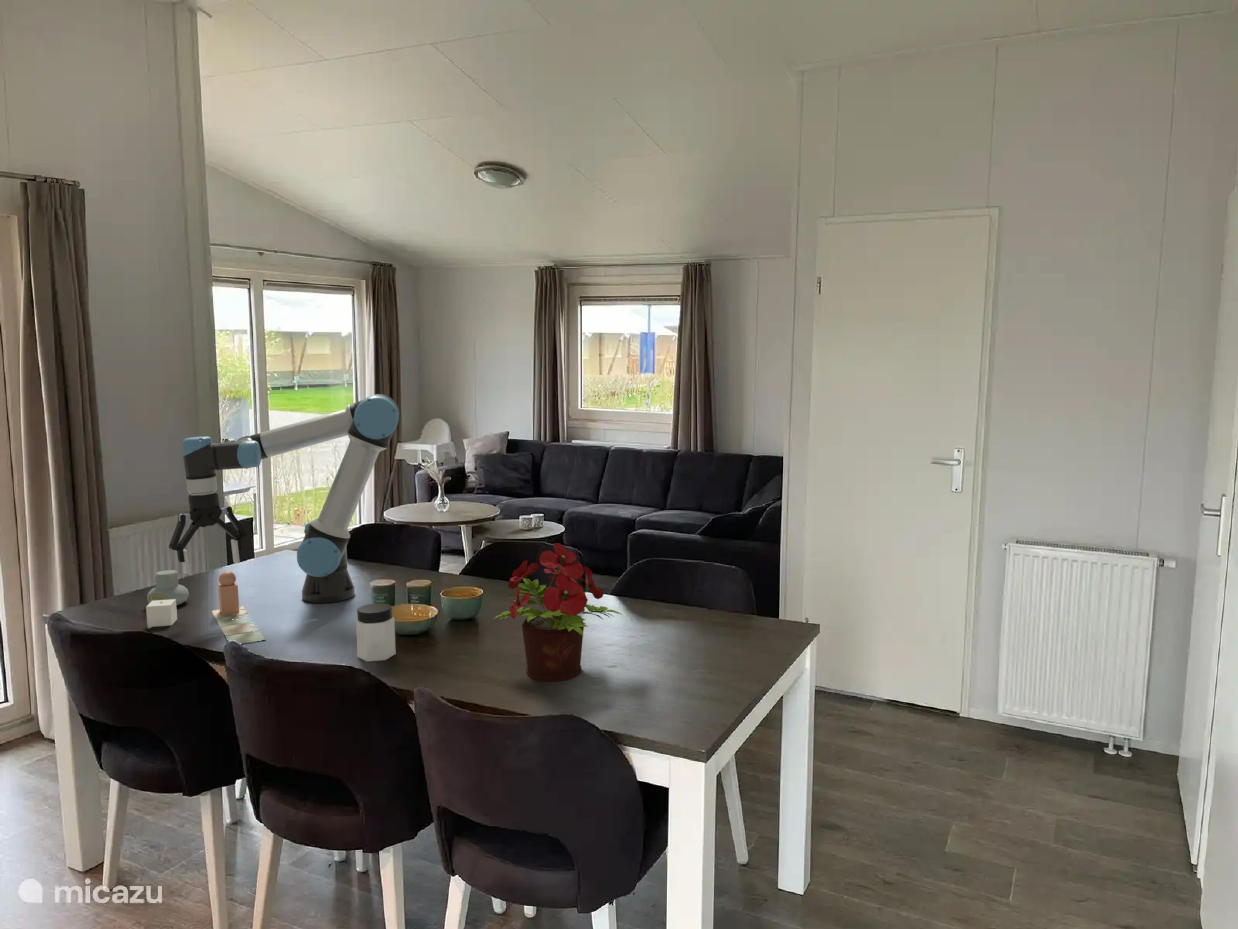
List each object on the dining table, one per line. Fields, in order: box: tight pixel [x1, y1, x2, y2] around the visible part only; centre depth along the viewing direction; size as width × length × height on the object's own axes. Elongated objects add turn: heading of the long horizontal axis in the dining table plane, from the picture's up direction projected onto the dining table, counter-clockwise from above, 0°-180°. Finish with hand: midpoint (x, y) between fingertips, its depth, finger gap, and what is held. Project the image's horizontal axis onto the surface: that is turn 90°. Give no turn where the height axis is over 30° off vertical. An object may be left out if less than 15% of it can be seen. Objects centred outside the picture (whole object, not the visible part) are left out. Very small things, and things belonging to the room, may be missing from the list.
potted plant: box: [491, 542, 622, 682], centre depth 205 cm, size 30×27×30 cm
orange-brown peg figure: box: [217, 570, 240, 615], centre depth 252 cm, size 4×4×12 cm
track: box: [211, 605, 267, 645], centre depth 241 cm, size 8×36×1 cm, turn 31°
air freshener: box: [146, 569, 190, 607], centre depth 260 cm, size 11×8×10 cm
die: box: [145, 599, 178, 629], centre depth 243 cm, size 6×6×6 cm
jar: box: [355, 603, 397, 663], centre depth 216 cm, size 9×8×12 cm
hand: (212, 568), depth 248 cm, fingers open, 13 cm apart
